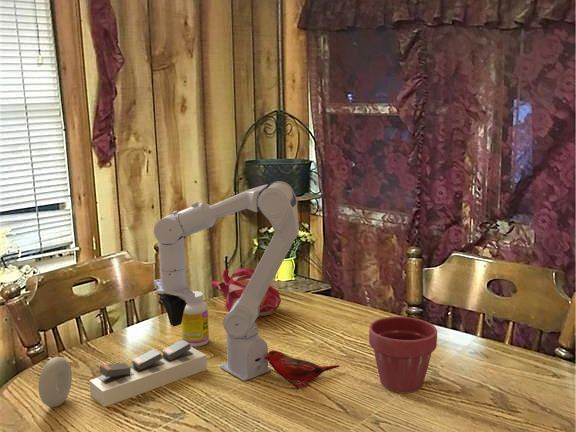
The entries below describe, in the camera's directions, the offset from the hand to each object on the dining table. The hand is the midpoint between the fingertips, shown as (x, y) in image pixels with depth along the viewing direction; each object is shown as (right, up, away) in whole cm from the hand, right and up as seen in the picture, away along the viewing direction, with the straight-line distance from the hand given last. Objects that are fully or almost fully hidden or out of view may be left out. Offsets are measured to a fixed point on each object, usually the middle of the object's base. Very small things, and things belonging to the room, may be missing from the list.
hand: (176, 324), depth 143 cm
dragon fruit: (+14, -3, +33) cm, 36 cm away
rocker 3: (0, -5, -2) cm, 6 cm away
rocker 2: (-5, -7, -6) cm, 11 cm away
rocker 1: (-11, -8, -11) cm, 17 cm away
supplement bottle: (+2, -7, +14) cm, 16 cm away
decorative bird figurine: (+30, -12, -10) cm, 34 cm away
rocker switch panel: (-4, -12, -6) cm, 14 cm away
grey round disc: (-22, -14, -15) cm, 30 cm away
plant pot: (+50, -11, -8) cm, 52 cm away
